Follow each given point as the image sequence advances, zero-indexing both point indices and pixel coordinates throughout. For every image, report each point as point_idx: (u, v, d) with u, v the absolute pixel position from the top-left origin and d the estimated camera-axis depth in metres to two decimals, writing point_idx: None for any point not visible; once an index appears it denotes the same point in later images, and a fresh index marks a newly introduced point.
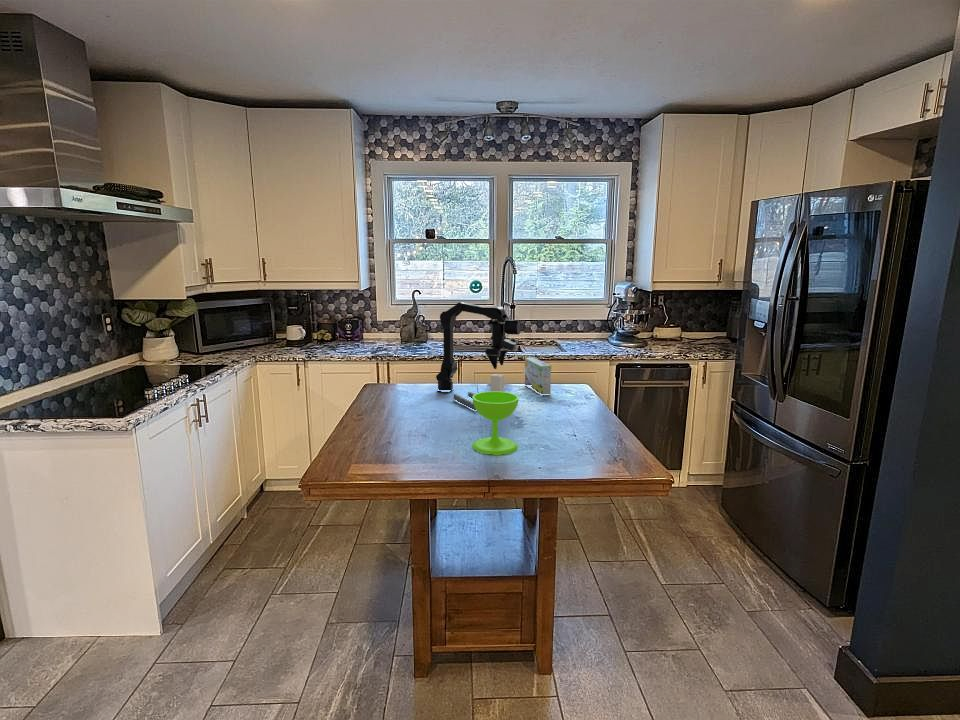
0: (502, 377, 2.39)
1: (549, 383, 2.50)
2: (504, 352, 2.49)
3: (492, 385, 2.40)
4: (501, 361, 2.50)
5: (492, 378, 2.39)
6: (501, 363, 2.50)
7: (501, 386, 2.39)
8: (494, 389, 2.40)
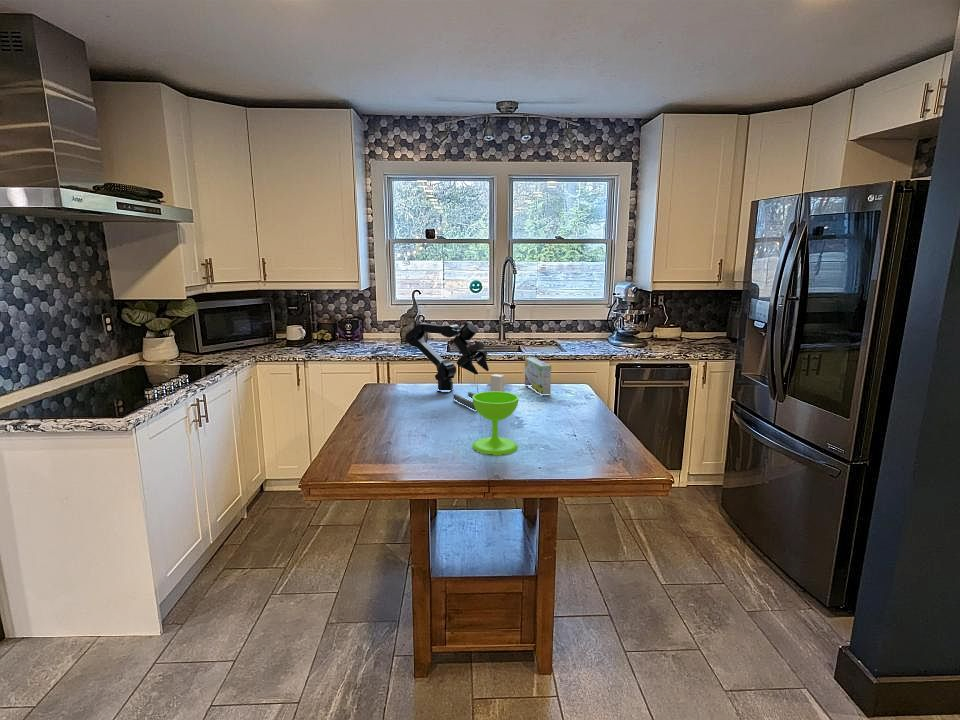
0: (502, 377, 2.39)
1: (549, 383, 2.50)
2: (482, 358, 2.49)
3: (492, 385, 2.40)
4: (485, 367, 2.48)
5: (492, 378, 2.39)
6: (486, 369, 2.48)
7: (501, 386, 2.39)
8: (494, 389, 2.40)
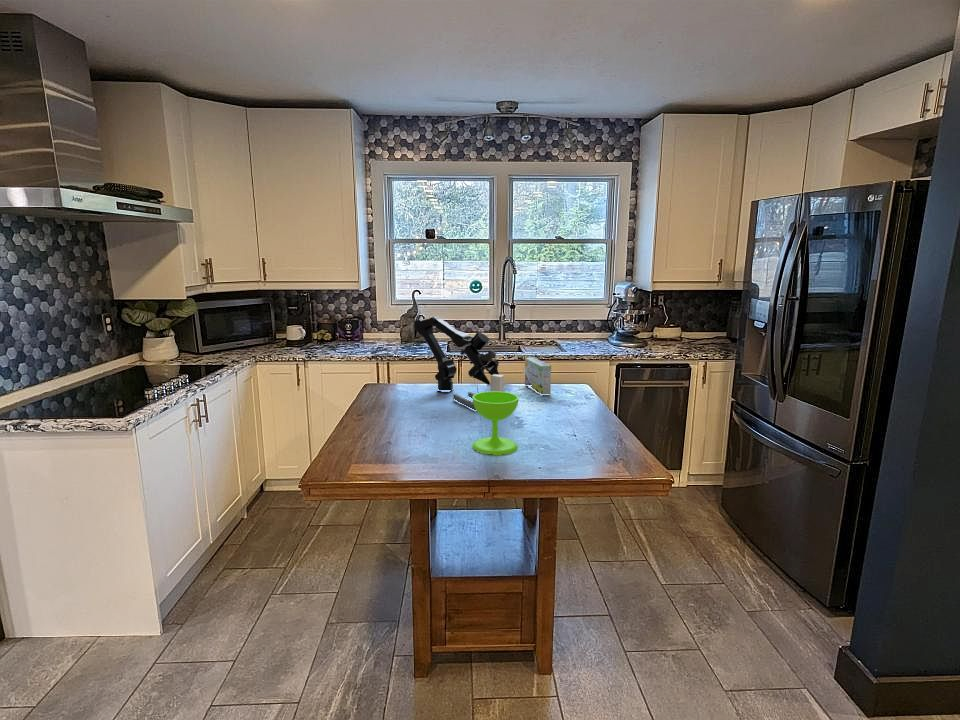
0: (502, 377, 2.39)
1: (549, 383, 2.50)
2: (494, 368, 2.46)
3: (492, 385, 2.40)
4: None
5: (492, 378, 2.39)
6: None
7: (501, 386, 2.39)
8: (494, 389, 2.40)
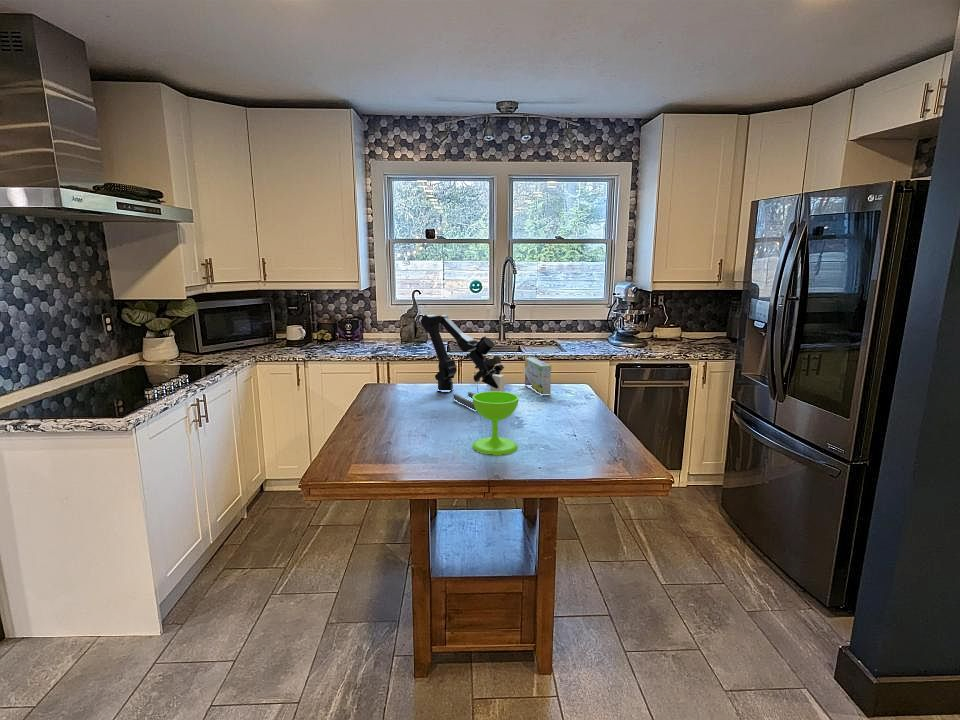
0: (502, 377, 2.39)
1: (549, 383, 2.50)
2: None
3: None
4: None
5: None
6: None
7: (501, 386, 2.39)
8: (494, 389, 2.40)
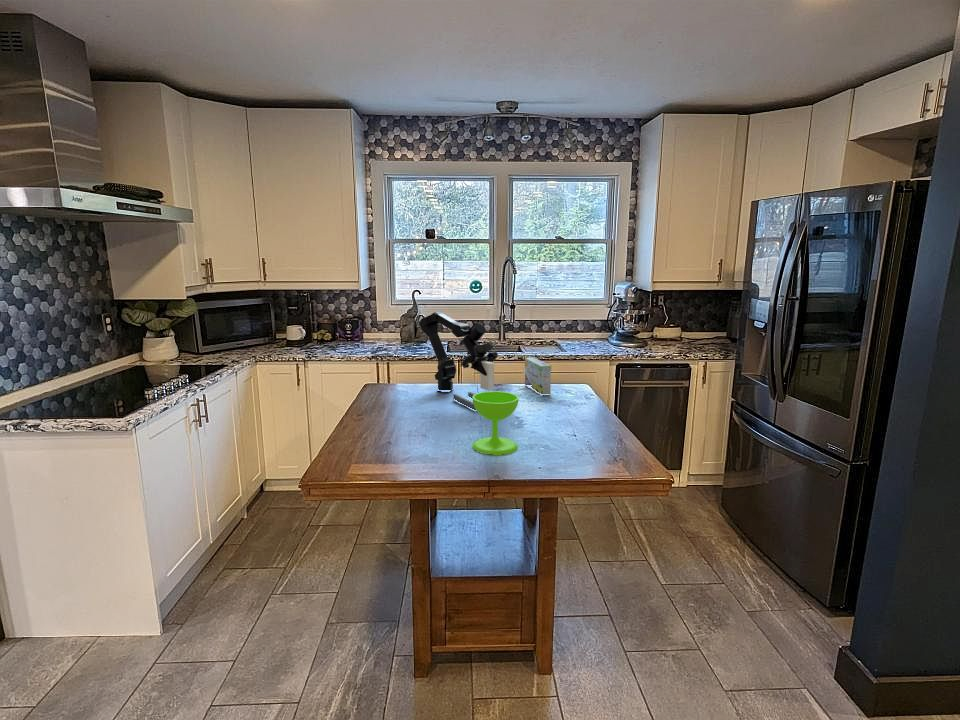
0: (492, 364, 2.33)
1: (549, 383, 2.50)
2: None
3: None
4: None
5: None
6: None
7: (490, 373, 2.33)
8: (483, 376, 2.35)
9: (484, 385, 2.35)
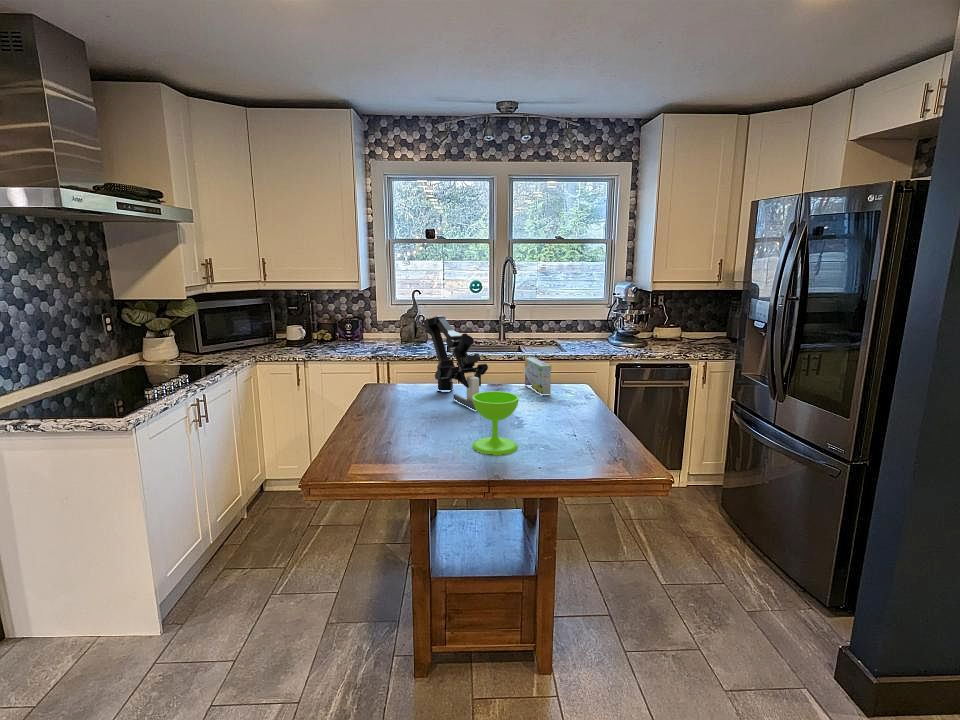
0: (476, 379, 2.31)
1: (549, 383, 2.50)
2: (477, 372, 2.36)
3: None
4: None
5: (467, 380, 2.33)
6: (479, 384, 2.34)
7: (474, 389, 2.31)
8: (468, 391, 2.33)
9: (469, 399, 2.34)
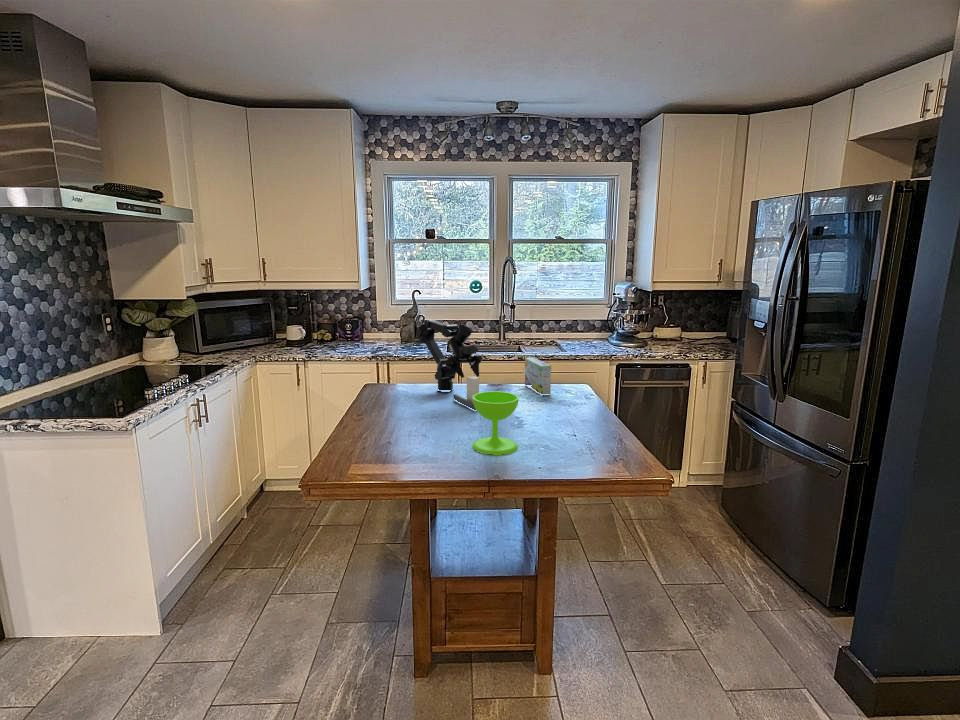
0: (476, 379, 2.31)
1: (549, 383, 2.50)
2: (475, 363, 2.43)
3: (467, 387, 2.34)
4: (476, 373, 2.42)
5: (467, 380, 2.33)
6: (477, 374, 2.42)
7: (474, 389, 2.31)
8: (468, 391, 2.33)
9: (469, 399, 2.34)
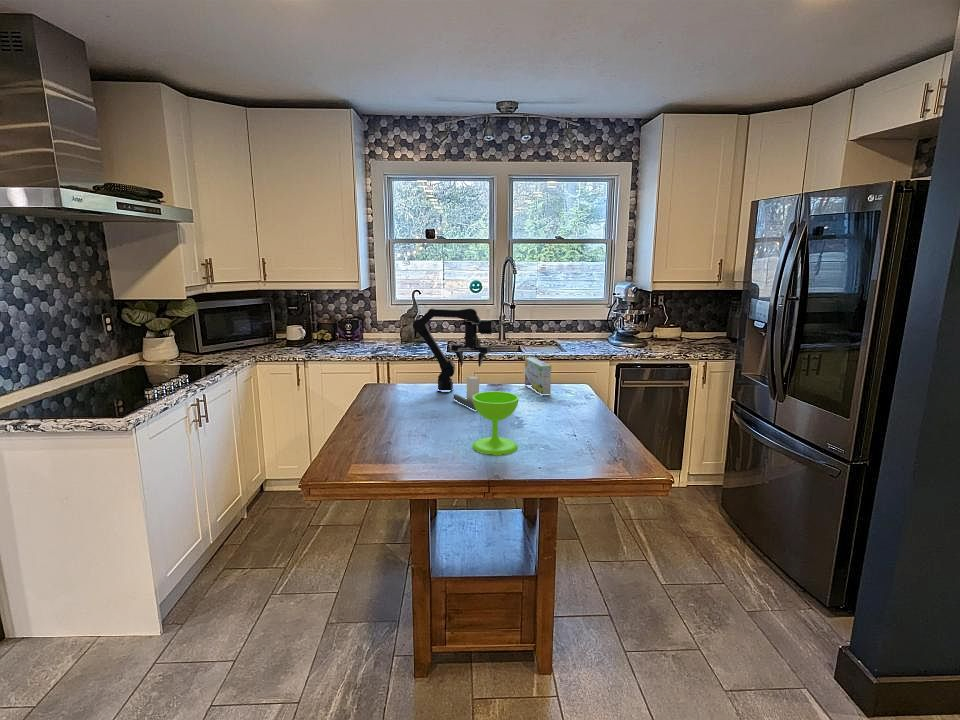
0: (476, 379, 2.31)
1: (549, 383, 2.50)
2: (462, 352, 2.57)
3: (467, 387, 2.34)
4: (462, 361, 2.57)
5: (467, 380, 2.33)
6: (462, 363, 2.57)
7: (474, 389, 2.31)
8: (468, 391, 2.33)
9: (469, 399, 2.34)
